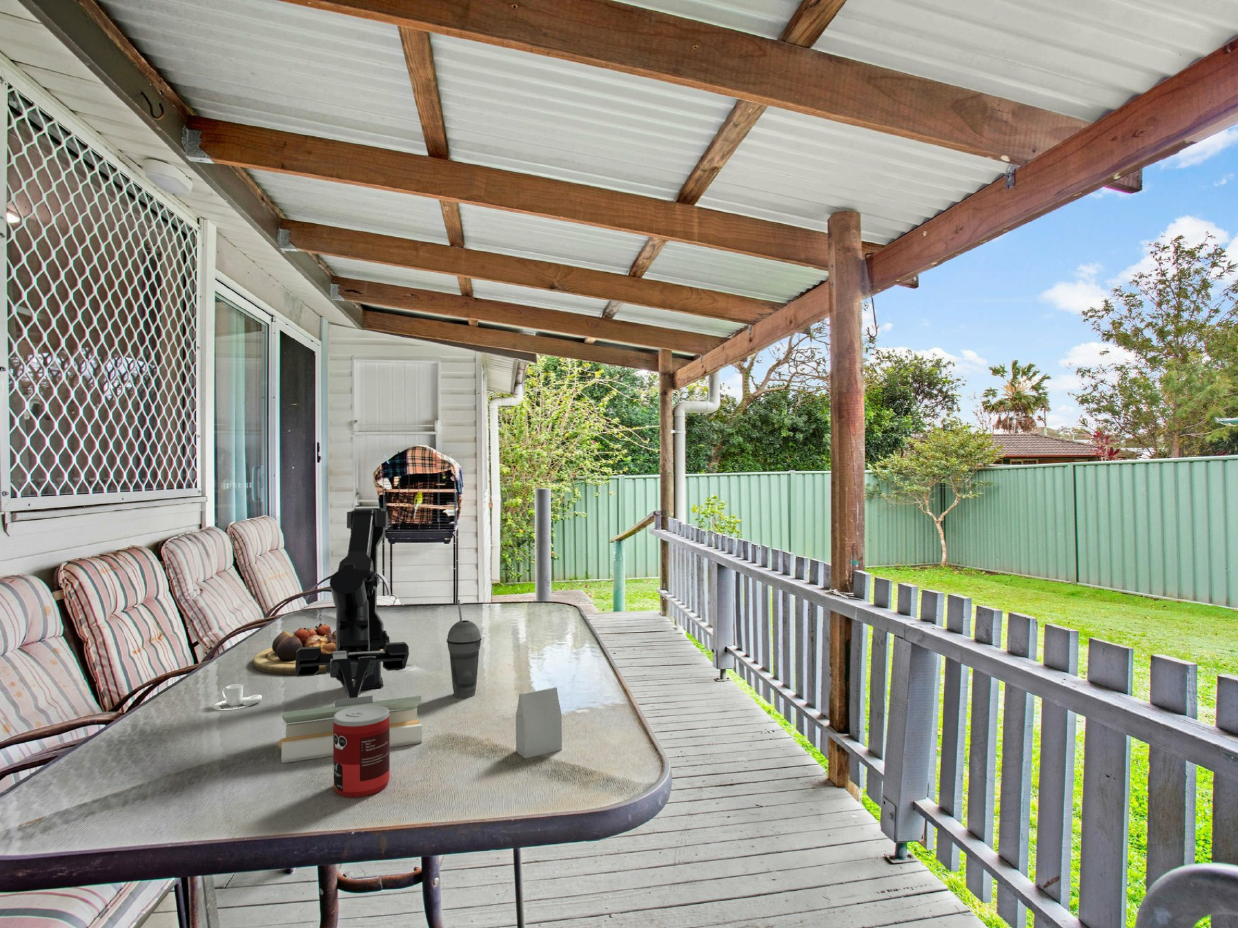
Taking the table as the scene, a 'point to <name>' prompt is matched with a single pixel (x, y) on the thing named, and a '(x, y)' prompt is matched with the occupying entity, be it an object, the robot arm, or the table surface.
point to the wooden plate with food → (294, 649)
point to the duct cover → (347, 703)
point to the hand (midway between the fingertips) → (353, 703)
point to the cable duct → (325, 744)
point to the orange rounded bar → (332, 733)
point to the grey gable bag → (538, 723)
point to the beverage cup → (464, 656)
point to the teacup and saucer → (237, 697)
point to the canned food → (361, 750)
